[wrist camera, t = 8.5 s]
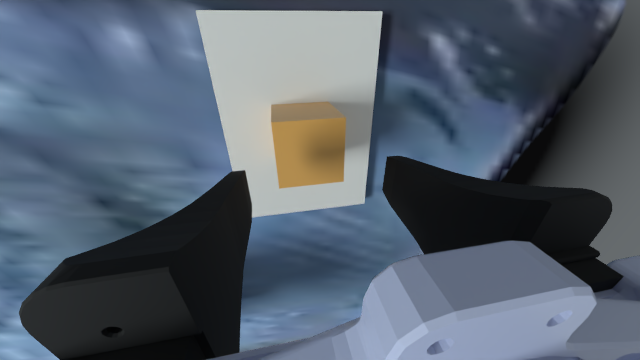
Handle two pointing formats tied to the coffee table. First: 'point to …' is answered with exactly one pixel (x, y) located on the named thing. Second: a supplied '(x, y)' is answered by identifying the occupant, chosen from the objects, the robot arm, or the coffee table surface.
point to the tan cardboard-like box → (308, 143)
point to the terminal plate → (292, 92)
